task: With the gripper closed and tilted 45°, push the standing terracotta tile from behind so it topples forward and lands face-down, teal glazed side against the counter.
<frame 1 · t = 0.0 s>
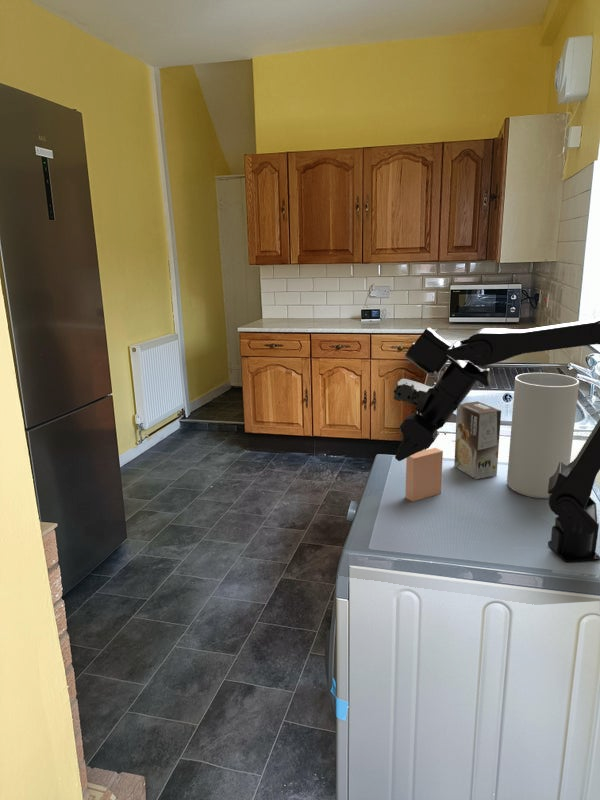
hand: (403, 451, 111), 15 cm above the washing machine top, tool tilted 35°, fingers open, 9 cm apart
cylinder vase: (536, 488, 128), on the washing machine top
tile: (423, 495, 126), on the washing machine top
coffee box: (474, 471, 138), on the washing machine top
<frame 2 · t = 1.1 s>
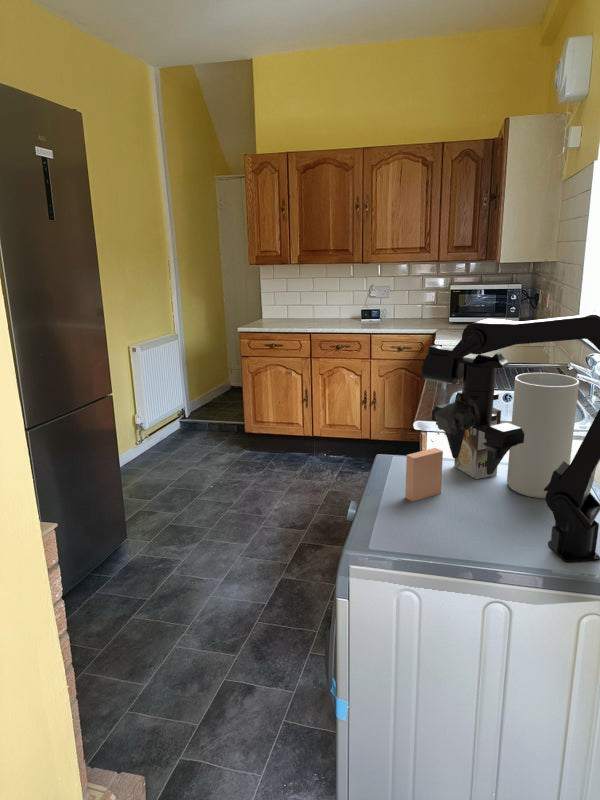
hand: (471, 465, 110), 12 cm above the washing machine top, tool pointing down, fingers open, 9 cm apart
nothing on the washing machine top moved.
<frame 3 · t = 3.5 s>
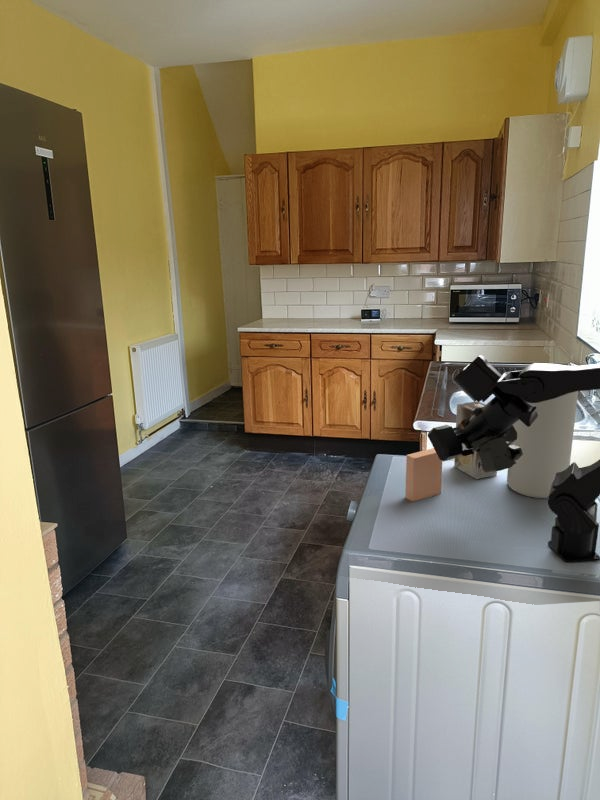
hand: (450, 455, 116), 12 cm above the washing machine top, tool tilted 45°, fingers closed
nothing on the washing machine top moved.
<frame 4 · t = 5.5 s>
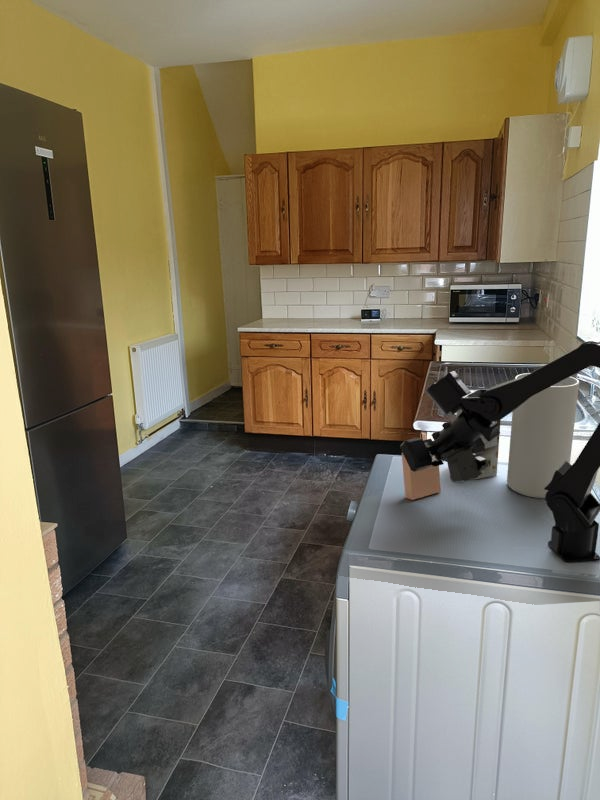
hand: (423, 464, 123), 7 cm above the washing machine top, tool tilted 45°, fingers closed
tile: (423, 494, 126), on the washing machine top, tilted 10°
everything else where it was.
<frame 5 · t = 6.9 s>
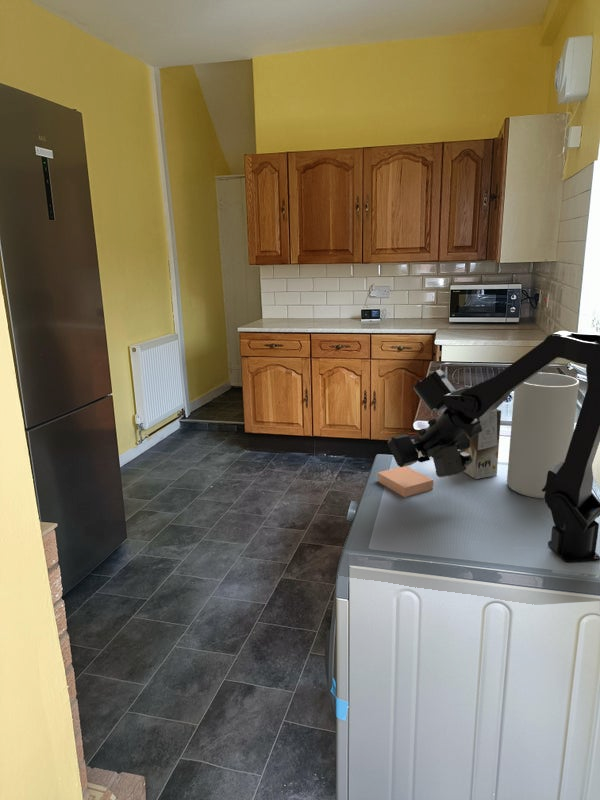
hand: (411, 461, 128), 7 cm above the washing machine top, tool tilted 45°, fingers closed
tile: (419, 488, 127), point 1 cm above the washing machine top, tilted 90°
everything else where it was.
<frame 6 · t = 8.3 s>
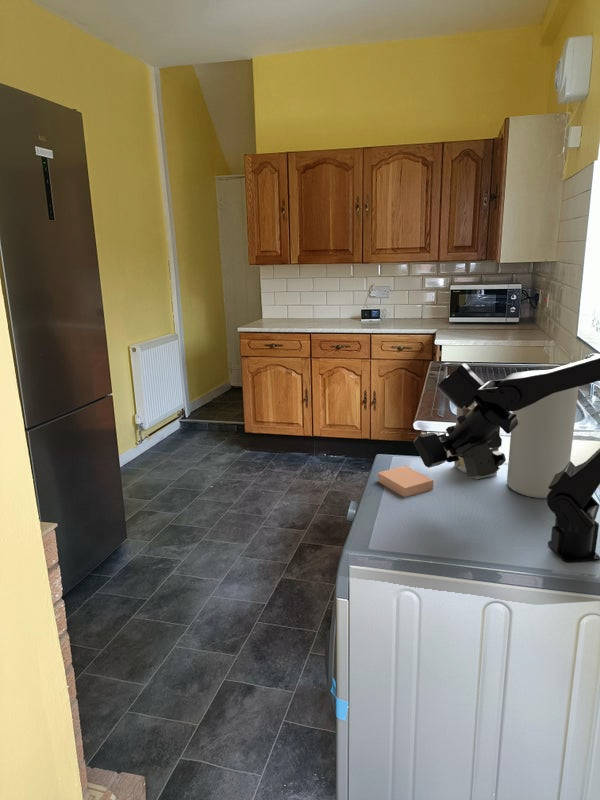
hand: (437, 461, 119), 10 cm above the washing machine top, tool tilted 45°, fingers closed
nothing on the washing machine top moved.
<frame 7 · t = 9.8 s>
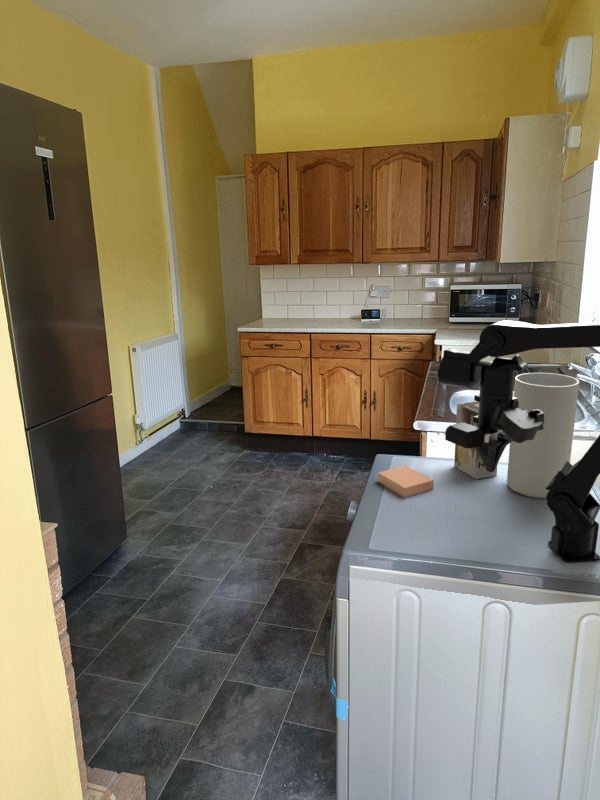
hand: (490, 471, 108), 12 cm above the washing machine top, tool pointing down, fingers closed
nothing on the washing machine top moved.
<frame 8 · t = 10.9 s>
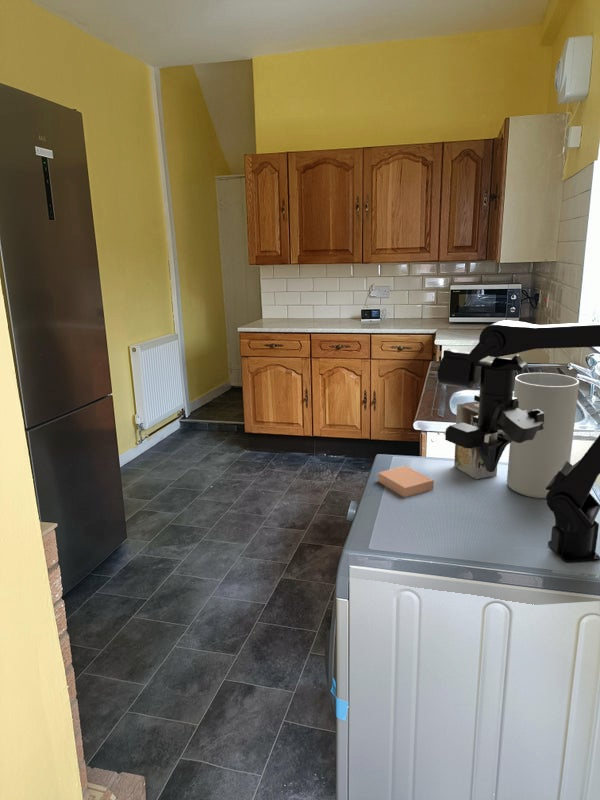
hand: (490, 471, 108), 12 cm above the washing machine top, tool pointing down, fingers closed
nothing on the washing machine top moved.
at the end: tile tilted 90°; tile moved 1.6 cm from its start; tile touching washing machine top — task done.
